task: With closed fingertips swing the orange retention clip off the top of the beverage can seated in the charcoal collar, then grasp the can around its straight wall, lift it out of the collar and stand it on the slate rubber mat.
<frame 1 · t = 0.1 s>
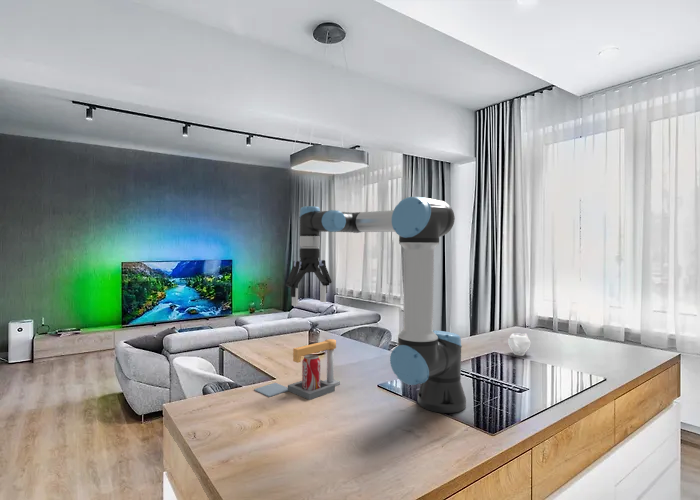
hand: (309, 304, 154), 28 cm above the kitchen island, fingers open, 13 cm apart
rubber mat: (272, 390, 141), on the kitchen island
clip: (315, 350, 142), point 14 cm above the kitchen island, hinge at 0.0°
teapot: (518, 354, 189), on the kitchen island
beverage can: (311, 391, 141), resting in socket collar
socket collar: (311, 390, 141), on the kitchen island
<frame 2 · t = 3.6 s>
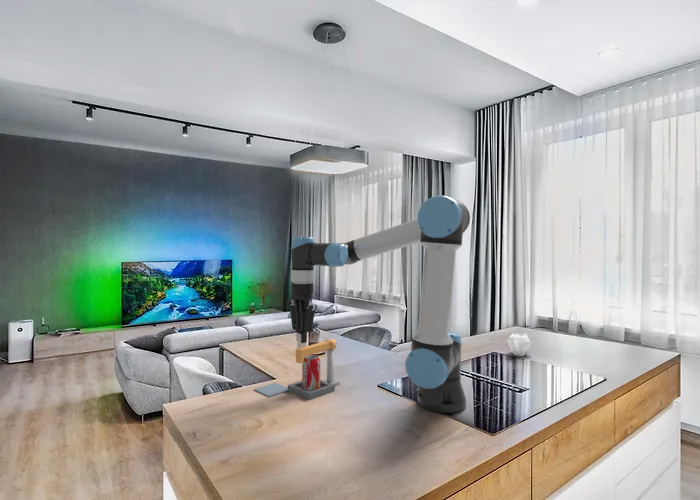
hand: (301, 351, 139), 14 cm above the kitchen island, fingers closed
clip: (317, 350, 142), point 14 cm above the kitchen island, hinge at 5.2°, touching gripper
everything else where it was.
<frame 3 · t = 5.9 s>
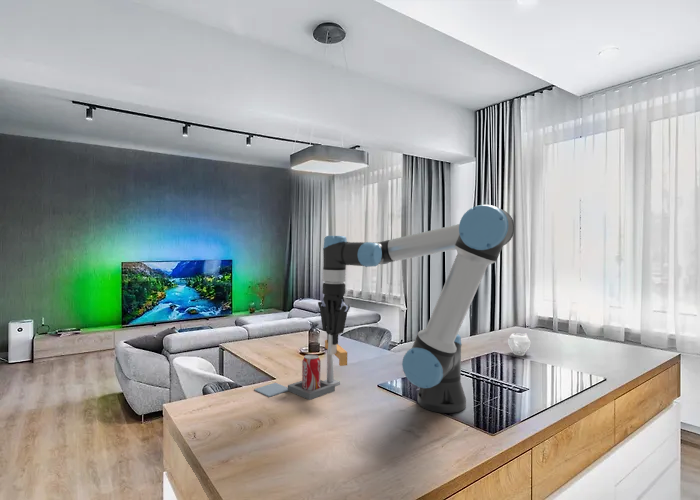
hand: (332, 353, 135), 15 cm above the kitchen island, fingers closed
clip: (335, 351, 141), point 14 cm above the kitchen island, hinge at 62.2°, touching gripper
everything else where it was.
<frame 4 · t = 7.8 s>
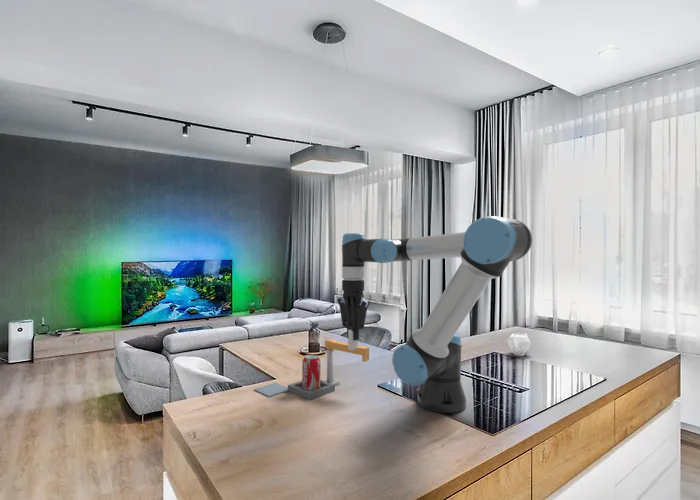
hand: (352, 349, 138), 15 cm above the kitchen island, fingers closed
clip: (345, 349, 143), point 14 cm above the kitchen island, hinge at 97.0°
everything else where it was.
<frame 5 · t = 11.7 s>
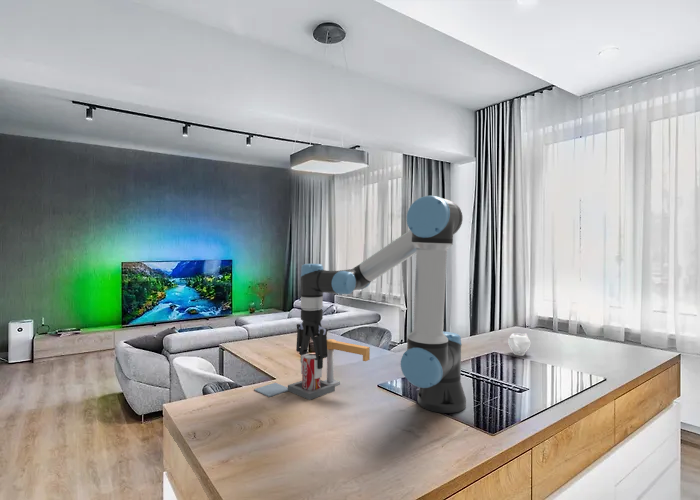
hand: (311, 375, 141), 5 cm above the kitchen island, fingers closed on beverage can, 6 cm apart
clip: (346, 349, 143), point 14 cm above the kitchen island, hinge at 98.3°
beverage can: (311, 391, 141), resting in socket collar, touching gripper
everything else where it was.
when the fingers open (7 cm above the kitchen island, at t = 17.2 s): beverage can drops 1 cm, resting on rubber mat.
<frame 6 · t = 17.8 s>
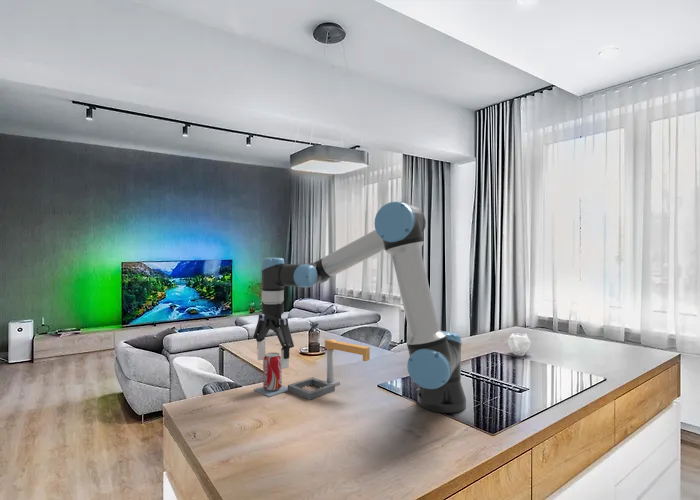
hand: (272, 363, 141), 9 cm above the kitchen island, fingers open, 13 cm apart
beverage can: (272, 389, 142), resting on rubber mat
everything else where it was.
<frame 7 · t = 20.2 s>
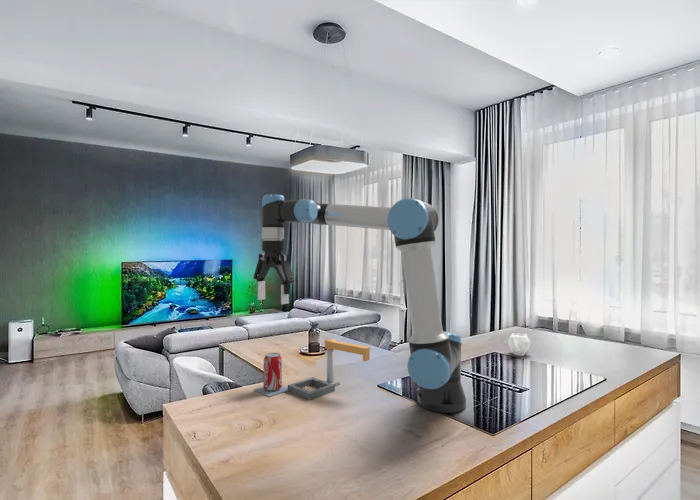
hand: (272, 301, 141), 31 cm above the kitchen island, fingers open, 13 cm apart
nothing on the kitchen island moved.
at the end: clip at +98° (first picture: +0°); beverage can inside the target area (0.1 cm from its centre), resting on rubber mat; beverage can tilted 1° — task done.
